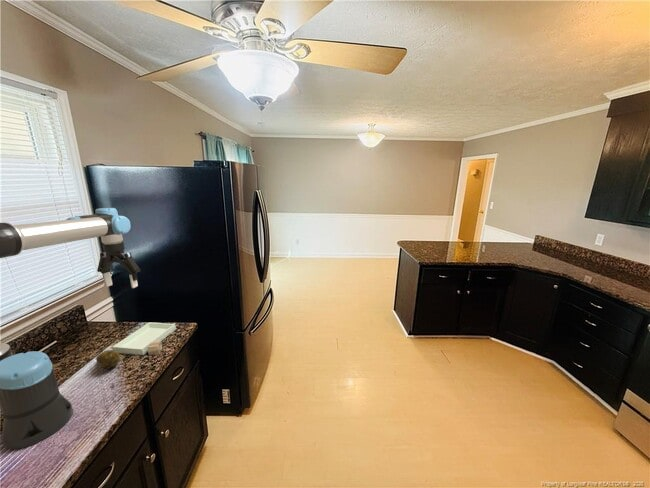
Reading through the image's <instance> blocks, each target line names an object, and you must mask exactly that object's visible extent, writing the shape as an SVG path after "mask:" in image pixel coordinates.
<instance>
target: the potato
mask: <svg viewBox="0 0 650 488" xmlns="http://www.w3.org/2000/svg"><path fill="white" fill-rule="evenodd" d="M120 358H121V355H120V353H117V352H116V351H113V349H107V350H103V351H102V352H100V353H99V354H98V355H97V356H96V357H95V359H96V362H97V364H98V365H100V366H101V367H102V368H104V369H109V368H112V367H114V366H116V365H117V364H118V363H119V362H120V360H121V359H120Z"/></svg>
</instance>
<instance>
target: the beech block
mask: <svg viewBox="0 0 650 488" xmlns="http://www.w3.org/2000/svg"><path fill="white" fill-rule="evenodd" d="M147 349H148V352H147V353H148V356H152V355H159V354H160V353H161V351H162V350H163V345H162V341H156V342H151V343H150V344H149V346H148V347H147Z"/></svg>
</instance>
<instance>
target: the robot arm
mask: <svg viewBox="0 0 650 488" xmlns="http://www.w3.org/2000/svg"><path fill="white" fill-rule="evenodd" d="M118 213H119V212H118V210H117V209H116V208H115V207H102V208H96V209H95V212H94V214H86V215H75V216H70V217H68V218H66V219H64V220H54V221H43V222H42V221H41V222H33V223H24V224H23V223H22V224H14V225H13V224H11V223H10V222H0V259H4V258H10V257H13V256H17V255H20V254H21V253H22V251H27V250H33V249H38V248H43V247H50V246H55V245H60V244H61V245H62V244H66V243H72V242H76V241H77V242H78V241H83V240H84V241H85V240H89V239H95V238H99V237H100V241H101V243H102V248H103V252H100V253H99V261H98V265H97V269H96V271H97V272H98V273H101V274H102V279H103V280H104V284H105V287H106V288H108V287H110V286H113V279H112V275H111V272H110V269H111V267H112V266H113V264H114V263H115V264H116V263H117V264H120V265H122V266H123V268H125V270H126V271H127V272H128V273H129V274H128V275H129V279H130V280H129V281H130V286H131V289H135V288H137V287H138V286H139V285H138V284H139V283H138V273H139V272H142V271H141V268H140V267H139V265H138V264H137V262H136V261H135V259H134V257H133V255H132V253H131V252H130V251H129V252H125V248H126V247H125V243H124V238H123V235H125V234H126V235H127V233H129V232H130V230H131V228H132V227H131V226H132V225H131V221H130V220H129V218H128V217H126V216H124V215H119V214H118ZM53 365H54V364H53V362H52V361H51V359H50V357H49V356H48V355H47V353H45V352H42V351H36V350H35V351H34V350H33V351H27V352H25V353H24V352H21V353H16V354H14V353H13V351H12V349H11V346H10V344H8V343H3V342H0V410H1V413H2V416H3V424H2V431H1V437H0V440H1V442H2V445H3V447H4V448H5V449H7V450H19V449H23V448H26V447H30V446H33V445H35V444H37V443H39V442H42V441H44V440H46V439H47V438H49V437H51V436H52V435H53V434H56V432H58V431H59V430H61V429H62V428H63V427H64V426H66V424H67V423H68V422H69V421H70V419H71V418H72V416H73V415H74V407H73V405H72V403H71V402H70V401H69V399H67V398H66V397H65V396H64V395H62V393H61V392H60V389H59V386H58V382H57V378H56V376H55V371H54V368H53Z"/></svg>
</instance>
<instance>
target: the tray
mask: <svg viewBox="0 0 650 488" xmlns="http://www.w3.org/2000/svg"><path fill="white" fill-rule="evenodd" d="M176 330H177V327H176V324H175V323H164V322H163V323H162V322H161V323H160V322H148V323H146V324H145V325H143V326H142V327H140V328H138V329H137V330H135V331H134V332H132V333H131V334H129V335H128V336H126V337H125V338H123V339H122V340H121V341H119V342H117V343H116V344H114V345H112V347H111V348H112V349H111V350H113V351H116V352H117V353H118V354H122V355H123V354H125V355H132V356H135V355H136V356H145V355H146V354H147V353H148V349H147V347H148V346H149V344H150V343H151V342H156V341H161V342H162V341H163V340H165V339H166V338H167V337H169V336H170V335H171V334H172V333H173V332H175V331H176Z"/></svg>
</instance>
